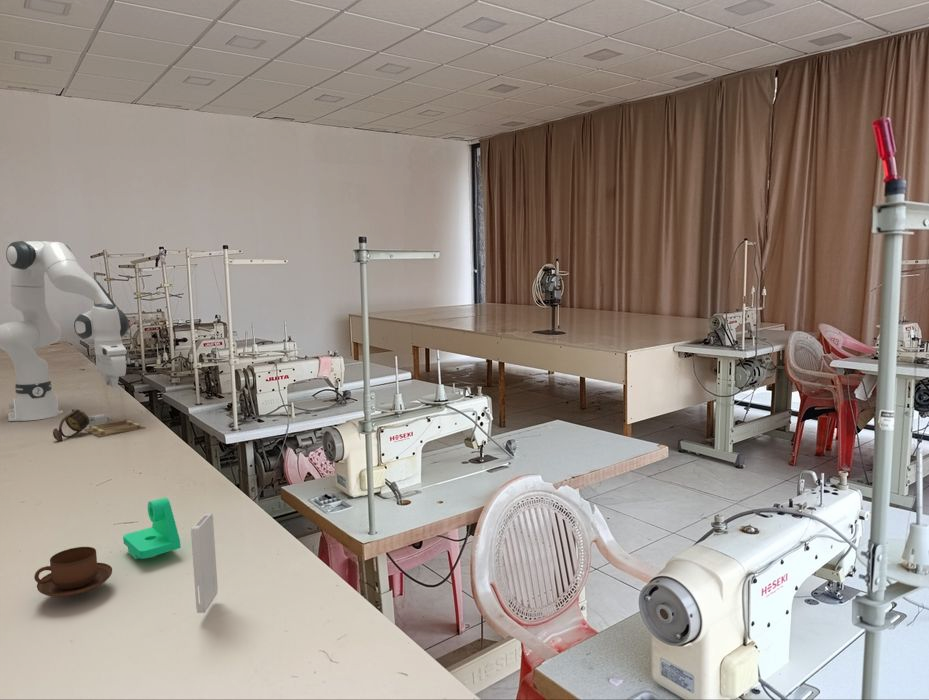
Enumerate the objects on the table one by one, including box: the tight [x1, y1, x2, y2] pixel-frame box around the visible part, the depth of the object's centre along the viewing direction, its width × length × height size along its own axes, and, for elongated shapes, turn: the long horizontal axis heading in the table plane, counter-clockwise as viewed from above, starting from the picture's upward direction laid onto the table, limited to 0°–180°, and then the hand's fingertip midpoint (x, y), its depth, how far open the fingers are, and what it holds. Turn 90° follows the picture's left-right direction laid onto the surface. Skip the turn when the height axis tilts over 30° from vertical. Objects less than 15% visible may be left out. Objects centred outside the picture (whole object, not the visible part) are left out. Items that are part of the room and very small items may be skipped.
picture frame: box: [83, 419, 146, 439], centre depth 240 cm, size 15×16×2 cm
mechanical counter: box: [52, 408, 90, 442], centre depth 230 cm, size 7×13×10 cm, turn 174°
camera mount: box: [122, 497, 181, 560], centre depth 136 cm, size 12×8×10 cm, turn 44°
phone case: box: [190, 513, 219, 614], centre depth 113 cm, size 7×1×15 cm, turn 3°
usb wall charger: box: [88, 413, 112, 426], centre depth 251 cm, size 4×7×4 cm, turn 151°
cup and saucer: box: [33, 546, 113, 598], centre depth 121 cm, size 12×12×6 cm
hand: (112, 386), depth 238 cm, fingers open, 4 cm apart
